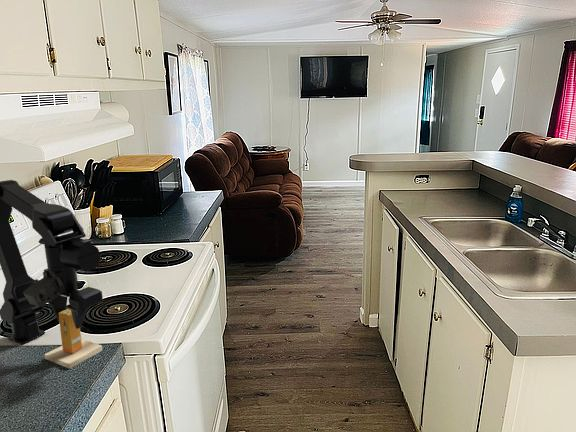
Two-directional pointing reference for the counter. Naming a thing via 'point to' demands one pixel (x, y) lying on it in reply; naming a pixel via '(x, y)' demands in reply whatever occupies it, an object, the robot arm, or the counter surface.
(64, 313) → the supplement box
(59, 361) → the birch board
